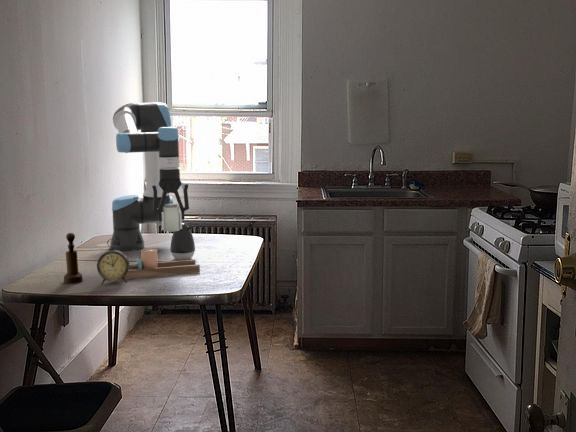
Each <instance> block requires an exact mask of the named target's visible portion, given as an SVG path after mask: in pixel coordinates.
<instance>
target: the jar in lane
mask: <svg viewBox="0 0 576 432" xmlns="http://www.w3.org/2000/svg"><path fill="white" fill-rule="evenodd" d="M140 250H141V251H140V255H141V256H140V260H141V262H142V269H149V268H158V262H159V260H158V249H156V248H147V249H146V248H145V249H140Z"/></svg>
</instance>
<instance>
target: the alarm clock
mask: <svg viewBox="0 0 576 432" xmlns="http://www.w3.org/2000/svg"><path fill="white" fill-rule="evenodd" d="M111 240H115V239H111V238H110V239H108V240H107V243H106V244H107V246H108V247H109V248H110V244H109V242H110V241H111ZM115 241H116V240H115ZM116 245H117V241H116ZM116 245H115V246H116ZM115 246H114V247H115ZM114 247H113V246H111V249H110V250H106V251H105V252H104V253H102V255H101V254H100V256H99V258H98V260H97V263H96V270H97V273H98V275H99V276H100V277H101V278H102V281H101V284H102V285H103V284H104V282H105V281H108V282H118V281H120V280H123V281H124V283H126V284H127V283H128V281H127V279H125V278H124V276H125V275H126V274H127V272H128V270H129V265H130V261H129V258H128V257H127V255H126V254H125V253H124V251H118V250H114V249H113V248H114Z"/></svg>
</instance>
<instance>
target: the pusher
mask: <svg viewBox="0 0 576 432" xmlns="http://www.w3.org/2000/svg"><path fill="white" fill-rule="evenodd" d="M136 264H137V265H134V266H129V268H137V269H142V261H141V257H140V258H138V257H137V258H136Z"/></svg>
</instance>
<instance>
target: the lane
mask: <svg viewBox="0 0 576 432" xmlns="http://www.w3.org/2000/svg"><path fill="white" fill-rule="evenodd" d="M134 265H137V263H136V264H135V263H134V264H133V263H132V264H129V266H134ZM200 267H201V266H200V264H196V259H189V260H171V261H170V260H169V261H158V268H149V269H137V268H129V270H128V272H127V274H126V275H125V276H124V278H125V280H131V279H142V278H153V277H164V276H165V277H166V276H178V275H188V274H189V275H190V274H200V273H201V269H200Z"/></svg>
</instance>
